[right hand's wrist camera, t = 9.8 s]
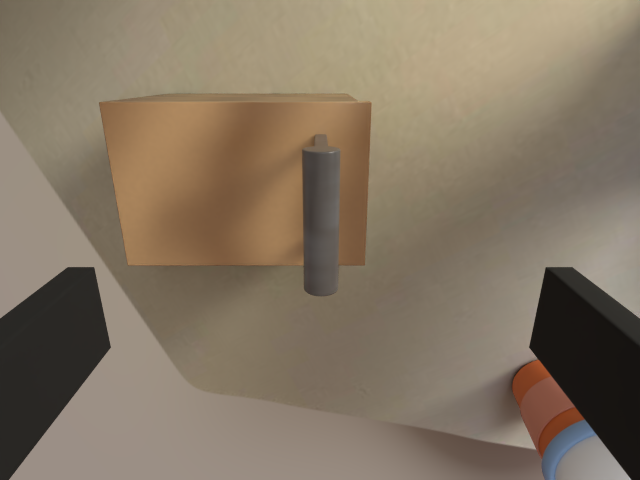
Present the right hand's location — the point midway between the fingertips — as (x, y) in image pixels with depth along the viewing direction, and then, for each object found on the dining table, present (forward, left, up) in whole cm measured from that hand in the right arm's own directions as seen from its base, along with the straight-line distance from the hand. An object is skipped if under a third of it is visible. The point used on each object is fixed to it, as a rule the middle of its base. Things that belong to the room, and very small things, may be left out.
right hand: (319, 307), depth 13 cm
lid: (+1, -5, -15) cm, 16 cm away
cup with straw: (+20, +26, -26) cm, 42 cm away
